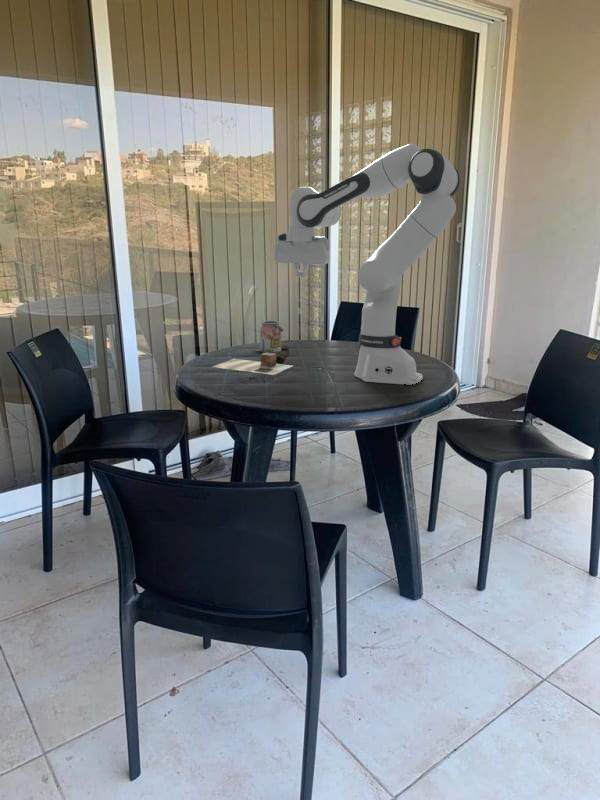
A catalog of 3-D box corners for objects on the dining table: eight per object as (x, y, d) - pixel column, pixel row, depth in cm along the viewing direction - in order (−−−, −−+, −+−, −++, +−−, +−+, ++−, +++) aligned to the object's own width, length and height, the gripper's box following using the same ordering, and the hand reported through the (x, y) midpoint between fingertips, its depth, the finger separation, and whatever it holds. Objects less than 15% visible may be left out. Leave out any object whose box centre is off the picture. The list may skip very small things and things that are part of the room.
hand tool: (283, 367, 204) (283, 354, 203) (272, 366, 205) (272, 354, 203) (294, 357, 222) (294, 345, 221) (284, 356, 223) (284, 344, 221)
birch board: (293, 369, 200) (293, 365, 199) (273, 379, 187) (273, 374, 186) (233, 362, 209) (233, 358, 209) (211, 371, 196) (211, 366, 196)
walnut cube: (276, 364, 200) (276, 353, 199) (270, 367, 197) (270, 355, 196) (266, 363, 202) (266, 352, 201) (260, 365, 198) (260, 354, 197)
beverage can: (273, 349, 235) (273, 319, 232) (287, 352, 229) (287, 322, 226) (255, 351, 229) (255, 321, 226) (269, 355, 223) (269, 324, 220)
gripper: (332, 236, 200) (331, 277, 204) (279, 236, 208) (279, 275, 212) (325, 236, 195) (325, 278, 199) (271, 236, 203) (272, 276, 207)
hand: (301, 276), depth 206 cm, fingers closed
